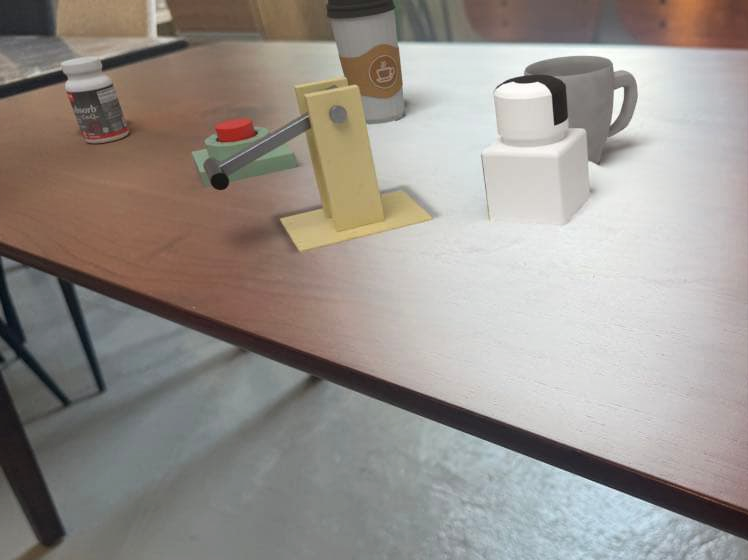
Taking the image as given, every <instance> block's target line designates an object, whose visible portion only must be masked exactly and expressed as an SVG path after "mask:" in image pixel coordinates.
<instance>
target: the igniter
mask: <svg viewBox="0 0 748 560" xmlns="http://www.w3.org/2000/svg"><path fill="white" fill-rule="evenodd" d="M254 130H255V133H256V136H254V137H252V138H249V139H246V140H241V141H236V142H226V143H223V142H219V140H218V136H217V133H213V134H210V136H208V137H207V138H206V139H204V141H203V142H204V145H205V148H203V149H198V150H193V151H191V153H190V154H191V156H192V159H193V162H194V165H195V169H196V172H197V174H198V176H199V178H200V181H201V183H202V186H203V188H208V187H213V186H212V185H211V183H210V181H209V178H208V176H207V174H206V172H205V170H204V167H203V165H204V162H205V160H206V159H208V158H216V159H217V160H219V161H220V162H221V161H223V160H225V159H227V158H228V157H230V156H232V155H234V154H235V153H237V152H239V151H240V150H242V149H244V148H246V147H247V146H249V145H251V144H253V143H254V142H256V141H258V140H260V139H261V138H263V137H265V136H267V135H268V134H270V133H271V132H270V131H269V129H268V128H267V127H262V126H261V127H260V126H254ZM296 168H298V163H297V159H296V156H295V152H294V151H293V150H292V148H291V147H290V146H289V145H288V144H287V142H286V143H284V144H283V145H281V146H279V147H277V148H276V149H274V150H272V151H270V152H269V153H267V154H265V155H263V156H262V157H260V158H258V159H256V160H255V161H253V162H251V163H250V164H248V165H246V166H244V167H243V168H241V169H239V170H237V171H236V172H234V173H232V174H230V175H229V176H228V178H229V183H231V182H235V181H240V180H245V179H250V178H254V177H259V176H264V175H268V174H272V173H278V172H282V171H287V170H292V169H296Z"/></svg>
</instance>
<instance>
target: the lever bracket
mask: <svg viewBox="0 0 748 560" xmlns="http://www.w3.org/2000/svg"><path fill="white" fill-rule="evenodd" d="M333 85H336V86H337V87H338V88H335V89H329V90H326V89H328V88H329V87H331V86H333ZM293 89H294V92H295V97H296V101H297V105H298V109H299V113H300V116H302V115H303V114H305V113H307V112H308V116H309V120H310V124H311V128H310V129H309V130H307V131H305V132H304V134H305V138H306V143H307V147H308V151H309V156H310V160H311V165H312V168H313V172H314V177H315V181H316V185H317V190H318V194H319V198H320V202H321V206H322V208H319V209H315V210H311V211H306V212H303V213H302V212H301V213H297V214H293V215H290V216H285V217H281V218H279V222H280V223H281V225H282V226H283V228H284V230H285V231H286V233H287V234H288V236H289V238H290V239H291V241H292V243H293V244H294V246H295V247H296V249H297V251H298V252H299V253H300V254H301V253H304V252H308V251H309V252H310V251H313V250H317V249H320V248H325V247H328V246H329V247H330V246H333V245H336V244H341V243H344V242H345V243H346V242H350V241H353V240H358V239H361V238H364V237H365V238H366V237H369V236H373V235H377V234H381V233H386V232H390V231H393V230H397V229H401V228H405V227H409V226H414V225H417V224H422V223H425V222H429V221H433V217H432V216H431V215H430V214H429V213H428V212H427V211H426V210H424V208H422V207H421V205H419V204H418V202H416V201H415V200H414V199H413V198H411V196H409V194H408V193H406V192H405V191H404V189H402V190H396V191H392V192H388V193H387V192H386V193H383V194H381V193H380V192H381V191H380V188H379V182H378V177H377V173H376V167H375V163H374V157H373V151H372V146H371V140H370V136H369V131H368V125H367V124H366V121H365V116H364V111H363V106H362V101H361V95H360V90H359V87H358V86H357V85H350V86H348V82H347V78H346V77H344V75H343V76H337V77H332V78H327V79H322V80H315V81H311V82H306V83H301V84H294V85H293Z"/></svg>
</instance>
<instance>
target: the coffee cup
mask: <svg viewBox="0 0 748 560" xmlns="http://www.w3.org/2000/svg"><path fill="white" fill-rule="evenodd" d="M325 8H326V17H327V18H328V19H329V22H330V26H331V30H332V33H333V37H334V41H335V45H336V49H337V52H338V59H339V63H340V66H341V69H342V74H343V76H344V77H346V78H347V82H348V86H350V85H357V86H358V87H359V90H360V95H361V101H362V106H363V111H364V116H365V121H366V125H379V124H385V123H390V122H394V121H398V120H400V119H402V118H403V117H404V112H405V110H406V108H405V107H406V106H405V99H404V97H405V96H404V90H403V89H404V88H403V85H404V83H403V81H404V80H403V73H402V62H401V54H400V47H399V42H398V33H397V23H396V15H395V9H396V5H395V3H394V0H327V4H325Z"/></svg>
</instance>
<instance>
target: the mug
mask: <svg viewBox="0 0 748 560" xmlns="http://www.w3.org/2000/svg"><path fill="white" fill-rule="evenodd" d="M614 70H615V69H614V64H613V61H611V60H610V58H608V57H604V56H598V55H597V56H596V55H569V56H559V57H552V58H547V59H542V60H539V61H536V62H533V63H531V64H529V65H528V66H526V67H525V68H524V71H523V76H526V75H549V76H553V77H555V78H558V79H560V80H562V81H563V82H564V84H565V85H566V94H567V108H568V123H569V127H568V128H583V129H585V130H586V135H587V152H588V162H591V163H592V164H594V165H597V164H598V163H599V162H601V159H602V154H603V151H604V148H605V145H606V143H607V140H608V139H609V138H611V137H613V136H615V135H617V134H618V133H620V132H622V131H623V130H625V129H626V128H627V127H628V126H629V124H630V123H631V121H632V119H633V117H634V113H635V110H636V106H637V103H638V98H639V97H638V96H639V94H638V84H637V80H636V78H635V76H634V74H632V73H630V72H629V71H627V70H623V69H619V70H615V71H614ZM621 88H623V100H622V105H621V108H620V111H619V114H618V116H617V117H616V119H615V120H614V121H613V122H612V119H613V111H614V101H615V100H614V99H615V91H616V90H618V89H621ZM599 164H600V163H599ZM599 164H598V165H599Z"/></svg>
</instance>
